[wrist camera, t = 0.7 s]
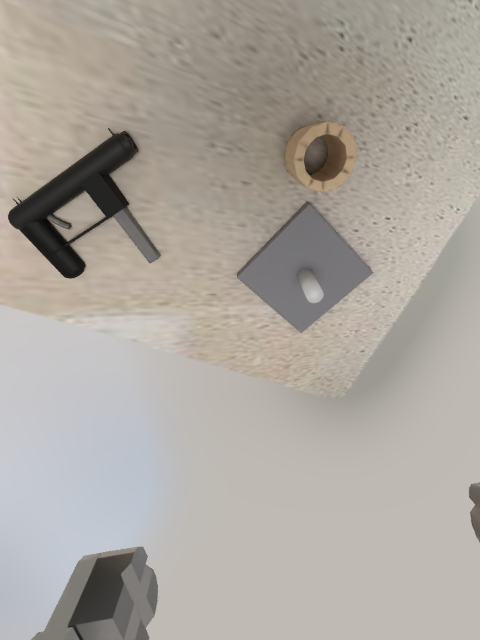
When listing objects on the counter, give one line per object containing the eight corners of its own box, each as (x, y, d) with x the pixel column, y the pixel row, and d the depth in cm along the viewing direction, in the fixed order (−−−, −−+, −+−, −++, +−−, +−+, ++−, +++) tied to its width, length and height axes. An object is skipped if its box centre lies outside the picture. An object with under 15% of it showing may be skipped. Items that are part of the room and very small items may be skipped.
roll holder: (307, 201, 44) (321, 215, 37) (369, 268, 49) (393, 292, 41) (237, 273, 49) (236, 298, 42) (299, 328, 54) (309, 358, 46)
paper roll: (313, 112, 39) (329, 107, 32) (346, 153, 41) (368, 156, 34) (274, 156, 41) (282, 160, 34) (308, 192, 43) (321, 203, 36)
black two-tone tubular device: (193, 239, 44) (112, 119, 37) (82, 304, 49) (-10, 210, 42) (195, 232, 47) (121, 118, 40) (90, 294, 52) (5, 203, 44)
